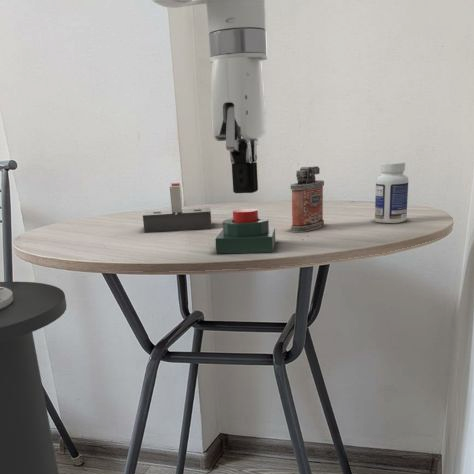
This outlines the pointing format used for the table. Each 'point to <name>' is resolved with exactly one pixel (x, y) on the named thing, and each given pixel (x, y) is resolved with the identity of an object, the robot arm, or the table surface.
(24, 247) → the table surface
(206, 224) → the panel
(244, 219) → the stop button
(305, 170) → the lighter
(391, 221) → the pill bottle
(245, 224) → the green button base
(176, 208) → the light grey block
